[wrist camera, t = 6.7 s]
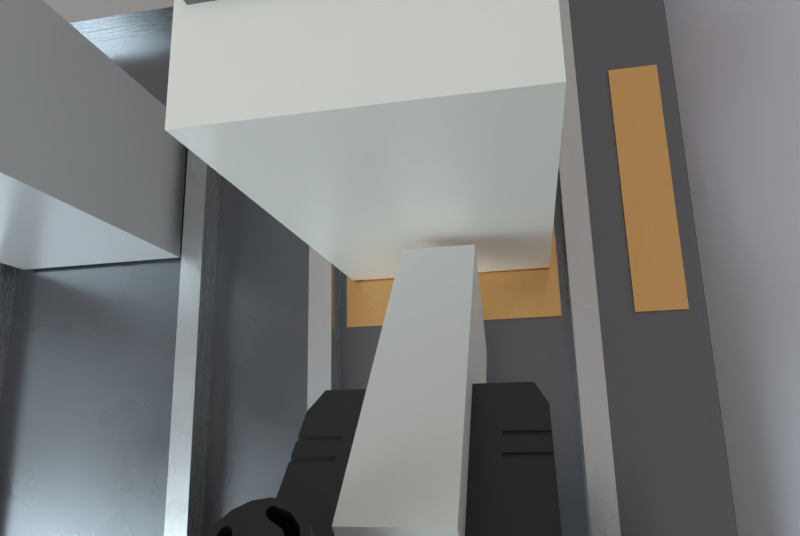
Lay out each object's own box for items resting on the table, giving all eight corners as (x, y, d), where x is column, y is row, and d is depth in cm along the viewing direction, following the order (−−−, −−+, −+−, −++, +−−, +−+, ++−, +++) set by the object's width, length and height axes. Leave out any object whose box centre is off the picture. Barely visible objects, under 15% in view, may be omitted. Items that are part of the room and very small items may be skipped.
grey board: (789, 1029, 13) (839, 1147, 11) (-96, 906, 17) (-186, 974, 15) (645, -45, 19) (659, -105, 17) (20, 50, 23) (-32, 11, 21)
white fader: (549, 267, 16) (567, 72, 7) (353, 280, 17) (156, 122, 8) (537, 118, 17) (539, -213, 8) (352, 139, 18) (175, -140, 9)
